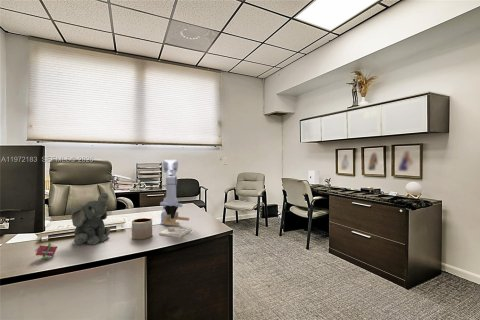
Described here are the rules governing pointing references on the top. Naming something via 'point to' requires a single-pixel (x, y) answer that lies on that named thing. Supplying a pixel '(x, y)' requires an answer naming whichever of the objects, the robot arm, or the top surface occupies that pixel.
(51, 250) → the geometric puzzle
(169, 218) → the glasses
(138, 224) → the planter
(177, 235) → the stand
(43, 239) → the top surface
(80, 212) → the stuffed elephant
